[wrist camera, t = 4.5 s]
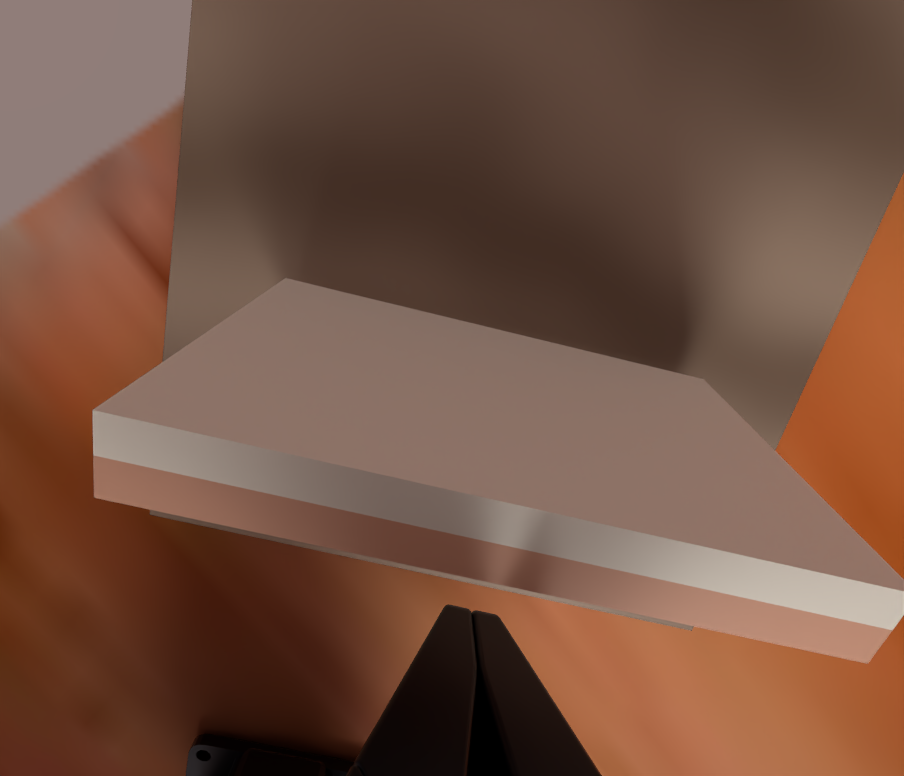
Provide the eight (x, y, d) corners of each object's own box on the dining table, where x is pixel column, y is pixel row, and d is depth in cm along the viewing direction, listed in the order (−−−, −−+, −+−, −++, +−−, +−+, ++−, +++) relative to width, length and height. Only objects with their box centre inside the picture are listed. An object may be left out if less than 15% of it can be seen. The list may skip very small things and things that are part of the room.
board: (679, 607, 18) (692, 630, 17) (167, 496, 17) (150, 514, 16) (979, -65, 12) (1023, -87, 11) (240, -286, 11) (219, -331, 10)
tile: (868, 663, 7) (918, 594, 7) (94, 497, 7) (92, 410, 6) (683, 423, 14) (703, 379, 13) (279, 327, 13) (285, 277, 13)
